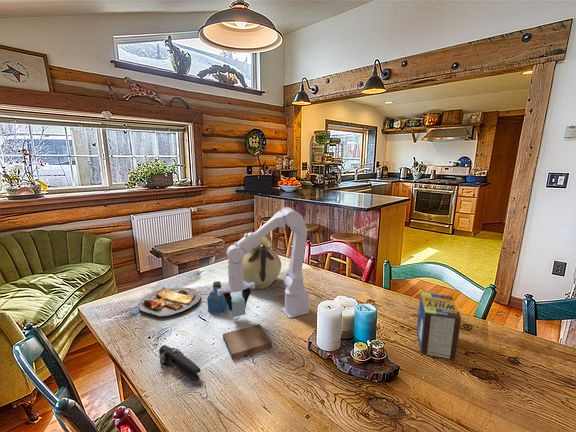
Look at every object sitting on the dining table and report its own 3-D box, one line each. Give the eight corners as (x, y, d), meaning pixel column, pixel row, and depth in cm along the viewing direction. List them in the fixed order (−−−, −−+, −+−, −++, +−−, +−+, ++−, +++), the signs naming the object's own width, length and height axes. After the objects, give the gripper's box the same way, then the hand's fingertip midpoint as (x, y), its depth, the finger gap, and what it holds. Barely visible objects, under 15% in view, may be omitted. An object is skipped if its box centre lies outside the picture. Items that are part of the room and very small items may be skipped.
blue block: (241, 308, 117) (241, 294, 115) (245, 314, 112) (245, 300, 111) (229, 311, 115) (228, 297, 113) (233, 317, 110) (232, 303, 109)
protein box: (446, 333, 106) (451, 295, 103) (455, 361, 92) (462, 317, 88) (416, 328, 109) (420, 290, 106) (420, 354, 95) (424, 311, 92)
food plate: (126, 310, 121) (126, 302, 120) (168, 287, 142) (167, 281, 142) (172, 324, 112) (172, 316, 111) (210, 298, 133) (209, 291, 132)
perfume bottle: (221, 313, 119) (220, 286, 116) (208, 312, 120) (206, 285, 118) (227, 306, 125) (226, 280, 122) (214, 304, 126) (213, 279, 124)
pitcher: (257, 270, 162) (256, 228, 157) (291, 281, 149) (292, 235, 143) (228, 285, 145) (225, 238, 139) (263, 299, 131) (262, 247, 125)
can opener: (153, 363, 91) (152, 347, 90) (173, 351, 96) (172, 336, 95) (188, 389, 81) (187, 372, 80) (208, 374, 86) (207, 358, 85)
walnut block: (259, 329, 109) (259, 323, 108) (272, 348, 98) (272, 341, 98) (223, 339, 103) (222, 333, 102) (232, 361, 92) (231, 354, 92)
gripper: (250, 268, 117) (251, 299, 120) (214, 275, 111) (216, 307, 113) (256, 275, 111) (257, 307, 113) (218, 282, 104) (220, 316, 107)
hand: (237, 308), depth 113 cm, fingers closed on blue block, 5 cm apart
